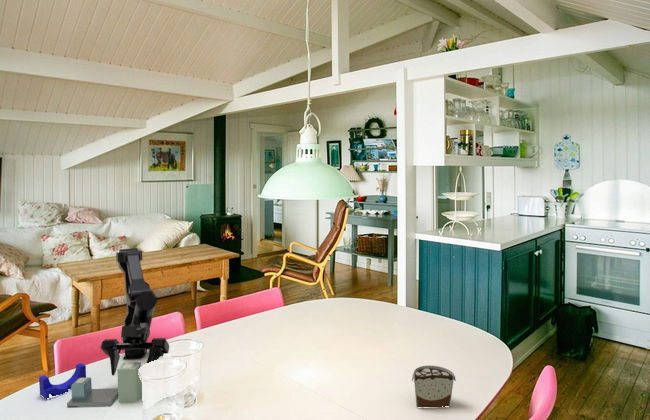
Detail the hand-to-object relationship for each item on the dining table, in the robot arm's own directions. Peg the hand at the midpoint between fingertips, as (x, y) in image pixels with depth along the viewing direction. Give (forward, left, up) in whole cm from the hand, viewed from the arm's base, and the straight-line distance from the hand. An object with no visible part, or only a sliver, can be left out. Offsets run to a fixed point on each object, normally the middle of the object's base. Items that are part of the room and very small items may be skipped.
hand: (129, 374), depth 128 cm
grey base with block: (-10, +1, -7) cm, 13 cm away
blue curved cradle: (-22, +7, -8) cm, 24 cm away
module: (0, +1, -7) cm, 8 cm away
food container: (+87, -7, -8) cm, 88 cm away
